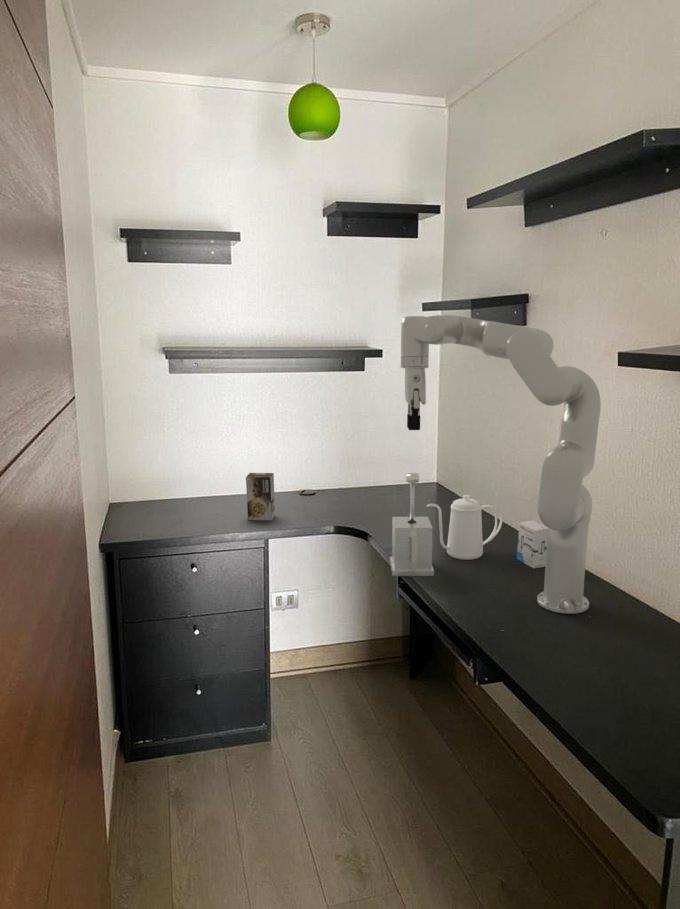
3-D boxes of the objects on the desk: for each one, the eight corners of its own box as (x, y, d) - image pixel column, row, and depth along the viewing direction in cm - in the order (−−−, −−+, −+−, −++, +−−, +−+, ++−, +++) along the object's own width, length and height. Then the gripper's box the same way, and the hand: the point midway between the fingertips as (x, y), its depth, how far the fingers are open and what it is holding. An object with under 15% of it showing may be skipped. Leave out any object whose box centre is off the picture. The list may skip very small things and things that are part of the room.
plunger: (425, 539, 194) (426, 477, 190) (400, 539, 194) (401, 477, 190) (422, 531, 201) (423, 471, 197) (398, 531, 201) (399, 471, 197)
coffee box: (275, 515, 251) (274, 472, 248) (272, 520, 245) (270, 476, 242) (251, 515, 252) (249, 472, 249) (247, 520, 246) (245, 476, 243)
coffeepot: (418, 552, 212) (419, 493, 208) (491, 545, 219) (494, 487, 215) (432, 565, 202) (433, 503, 198) (508, 556, 209) (511, 496, 205)
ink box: (515, 559, 207) (517, 521, 204) (529, 556, 208) (531, 519, 206) (533, 568, 199) (535, 530, 196) (547, 566, 200) (550, 528, 198)
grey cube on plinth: (435, 579, 191) (436, 531, 189) (393, 579, 191) (393, 531, 189) (428, 561, 205) (429, 516, 202) (389, 561, 205) (390, 516, 202)
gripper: (432, 364, 179) (430, 434, 183) (424, 360, 195) (423, 424, 199) (403, 364, 179) (402, 434, 183) (398, 360, 195) (397, 424, 199)
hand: (413, 428), depth 191 cm, fingers open, 2 cm apart
